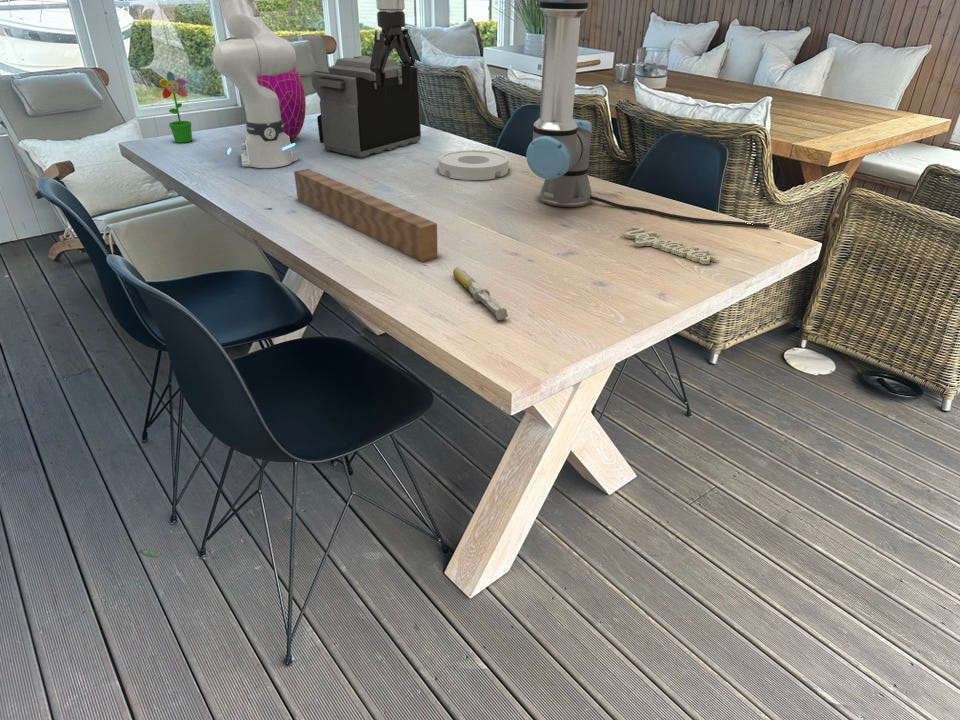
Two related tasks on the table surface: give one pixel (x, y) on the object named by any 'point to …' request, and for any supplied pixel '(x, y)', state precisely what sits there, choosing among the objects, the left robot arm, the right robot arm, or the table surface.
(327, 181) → the post
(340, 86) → the cooler box
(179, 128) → the potted flower
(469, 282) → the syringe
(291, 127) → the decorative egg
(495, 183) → the table surface
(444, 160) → the ashtray
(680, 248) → the decorative sign
